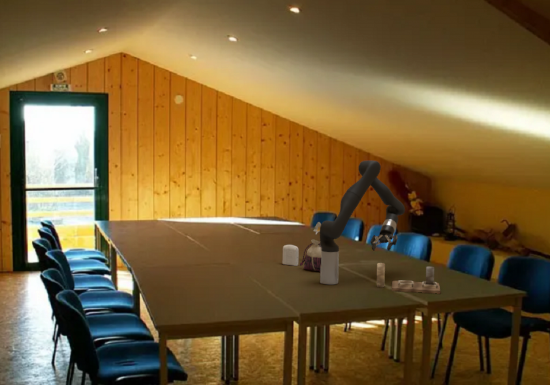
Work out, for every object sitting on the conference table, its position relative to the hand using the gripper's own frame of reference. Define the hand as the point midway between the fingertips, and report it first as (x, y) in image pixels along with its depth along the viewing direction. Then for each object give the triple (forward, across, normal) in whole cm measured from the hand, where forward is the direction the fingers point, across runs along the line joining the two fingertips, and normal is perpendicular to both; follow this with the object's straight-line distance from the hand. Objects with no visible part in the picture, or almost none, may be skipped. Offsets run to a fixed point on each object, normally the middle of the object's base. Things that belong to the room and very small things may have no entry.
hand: (380, 249), depth 333 cm
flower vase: (-22, -53, +31) cm, 65 cm away
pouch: (+2, -45, +14) cm, 47 cm away
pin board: (+15, +19, +14) cm, 28 cm away
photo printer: (-6, -67, +17) cm, 69 cm away
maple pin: (+18, +2, +9) cm, 21 cm away
